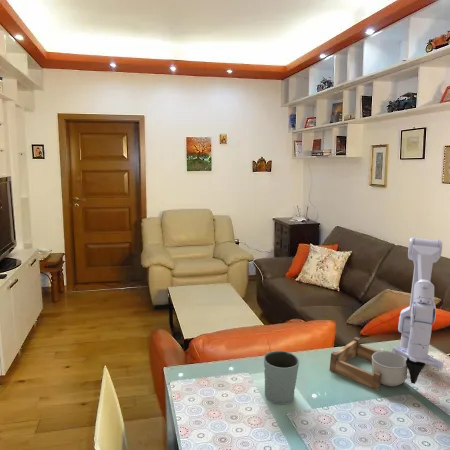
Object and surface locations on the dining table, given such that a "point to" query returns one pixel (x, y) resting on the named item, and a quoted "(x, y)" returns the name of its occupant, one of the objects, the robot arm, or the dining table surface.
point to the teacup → (389, 367)
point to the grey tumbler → (280, 376)
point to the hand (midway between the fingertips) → (413, 382)
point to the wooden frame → (351, 371)
